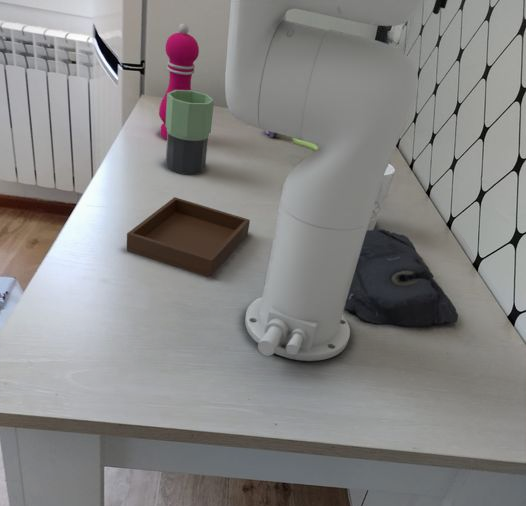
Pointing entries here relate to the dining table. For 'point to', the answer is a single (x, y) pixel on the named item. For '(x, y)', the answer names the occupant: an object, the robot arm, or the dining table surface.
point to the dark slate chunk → (396, 284)
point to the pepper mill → (179, 66)
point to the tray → (188, 236)
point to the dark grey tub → (186, 155)
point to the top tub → (189, 115)
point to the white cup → (381, 196)
